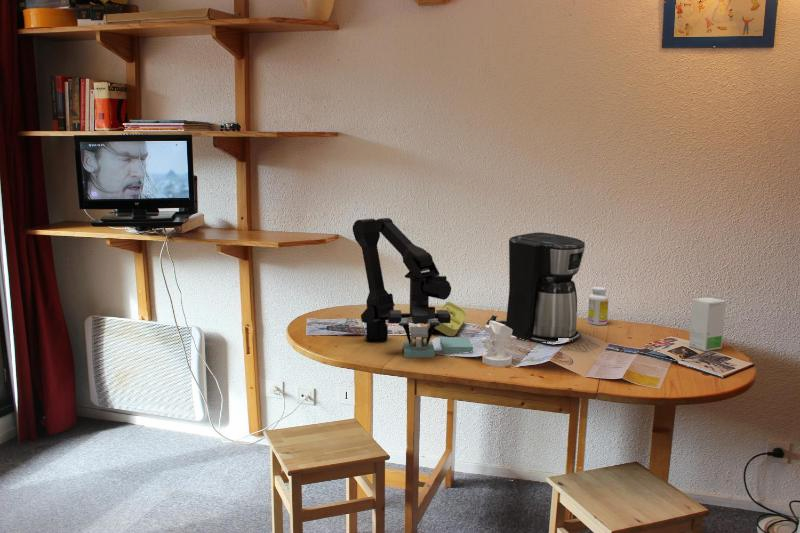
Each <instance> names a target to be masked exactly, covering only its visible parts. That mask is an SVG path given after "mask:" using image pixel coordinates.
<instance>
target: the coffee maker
mask: <svg viewBox="0 0 800 533" xmlns="http://www.w3.org/2000/svg"><path fill="white" fill-rule="evenodd" d="M585 245H586V244H585V241H583V240H581V239H579V238H574V237H571V236H567V235H563V234H561V235H560V234H555V233H549V232H538V231H537V232H531V233H529V232H528V233H524V234H519V235H513V236H512V237H509V240H508V259H509V260H508V270H509V271H508V274H509V275H508V276H509V277H508V280H509V281H508V285H509V287H508V288H509V289H508V299H507V300H508V301H507V309H506V310H507V311H506V320H497V318H498V315H493V314H492V316H491V317H490V319H488V320H487V321H486V325H489V321H496V322H498V323H501V324H504V325H505V326H507V327H509V328H511V329H512V330H513V331H512V336H515V337H517V338H516V339H518V338H521V339H520V340H522V339H524V340H523V341H525V340H533V341H532V342H534V341H537V342H536V343H538V342H546V343H547V342H556V341H558V338H569V341H572V340H574V341H575V339H576V340H577V339H579V338H580V336H581V335H582V334H581V332H580V331H577V324H578V323H577V321H578V320H577V319H578V318H577V317H578V316H577V315H578V314H577V313H578V296H577V289H576V284H575V281H574V280H572V279H573V277H574V276H576V274H578V273H579V270H580V267H581V263H582V260H583V256H584V253H585V247H586V246H585ZM572 342H573V341H572Z"/></svg>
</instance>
